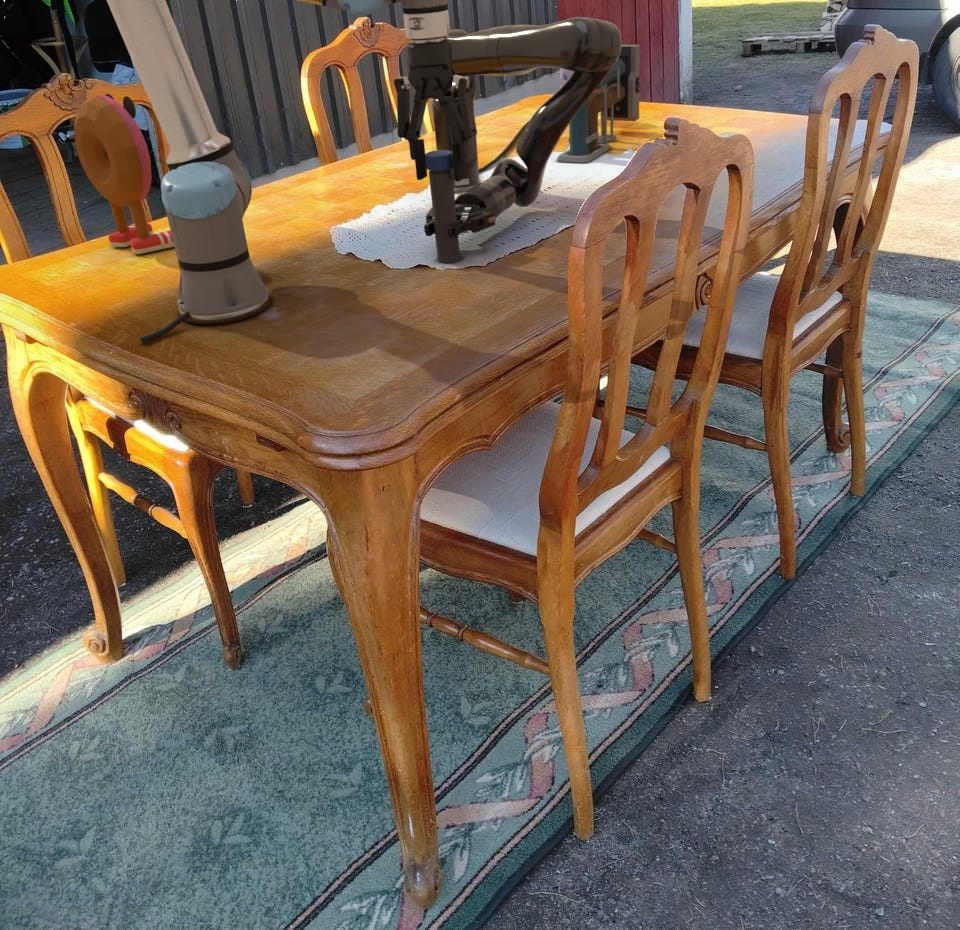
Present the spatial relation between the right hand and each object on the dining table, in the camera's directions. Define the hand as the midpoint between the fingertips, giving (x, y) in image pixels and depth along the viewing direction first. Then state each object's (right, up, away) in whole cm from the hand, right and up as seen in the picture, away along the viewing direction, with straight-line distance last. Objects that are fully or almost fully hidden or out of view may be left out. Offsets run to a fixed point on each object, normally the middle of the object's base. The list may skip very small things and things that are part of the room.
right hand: (438, 231), depth 175 cm
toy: (-63, +4, +27) cm, 69 cm away
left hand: (+1, +9, -2) cm, 9 cm away
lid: (0, +12, -5) cm, 13 cm away
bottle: (+2, -4, +5) cm, 7 cm away
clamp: (+38, +40, +74) cm, 92 cm away
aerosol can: (+35, +57, +103) cm, 123 cm away
